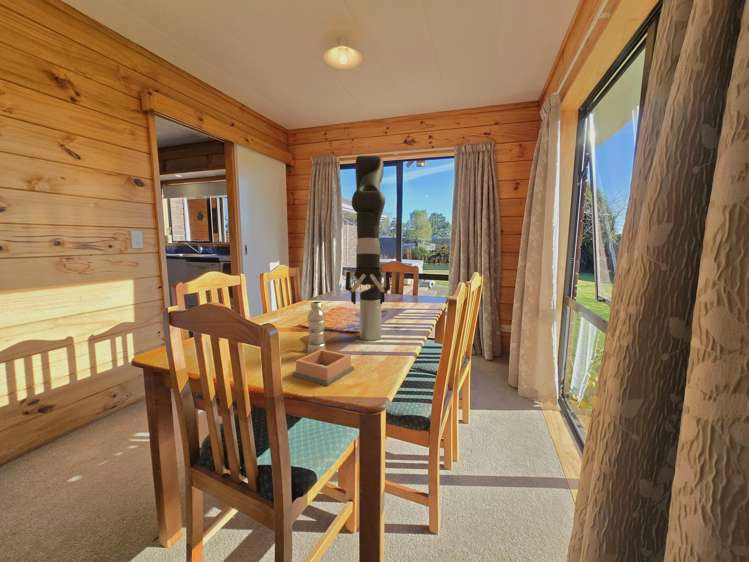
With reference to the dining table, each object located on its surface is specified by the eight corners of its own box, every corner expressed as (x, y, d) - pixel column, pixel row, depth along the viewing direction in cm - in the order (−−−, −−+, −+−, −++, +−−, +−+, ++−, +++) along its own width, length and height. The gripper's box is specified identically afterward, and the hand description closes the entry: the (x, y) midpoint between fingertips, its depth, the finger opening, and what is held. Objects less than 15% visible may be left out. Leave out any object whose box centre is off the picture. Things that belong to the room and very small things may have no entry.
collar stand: (320, 361, 116) (320, 347, 116) (354, 369, 110) (354, 355, 109) (292, 376, 104) (292, 360, 104) (328, 386, 98) (327, 369, 97)
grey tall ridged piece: (304, 357, 121) (302, 303, 118) (315, 351, 127) (314, 300, 124) (318, 360, 118) (317, 305, 115) (329, 354, 124) (328, 301, 121)
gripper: (390, 254, 109) (389, 303, 109) (347, 254, 110) (346, 303, 110) (390, 252, 102) (390, 305, 102) (344, 252, 102) (344, 304, 102)
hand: (367, 304), depth 106 cm, fingers open, 8 cm apart
